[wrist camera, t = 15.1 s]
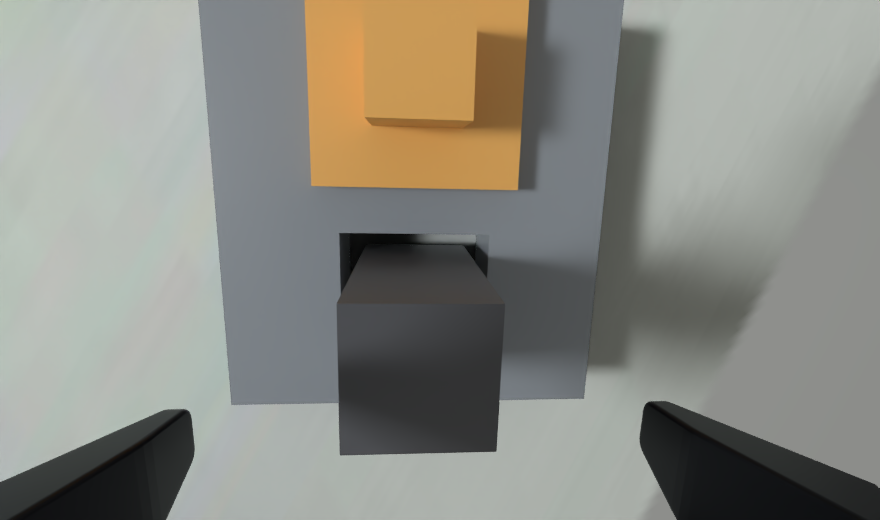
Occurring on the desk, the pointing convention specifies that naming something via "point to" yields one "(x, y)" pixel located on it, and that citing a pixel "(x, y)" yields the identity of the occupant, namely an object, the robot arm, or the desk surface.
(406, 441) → the grey box
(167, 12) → the desk surface
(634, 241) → the desk surface
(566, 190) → the socket board
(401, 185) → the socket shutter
